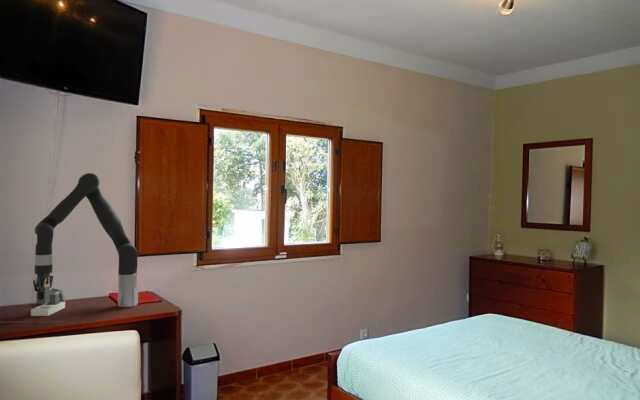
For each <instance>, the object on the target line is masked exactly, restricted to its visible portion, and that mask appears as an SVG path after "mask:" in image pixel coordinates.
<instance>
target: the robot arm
mask: <svg viewBox="0 0 640 400" xmlns="http://www.w3.org/2000/svg"><path fill="white" fill-rule="evenodd" d="M99 185H100V178H99V176H98V175H97V174H95V173H93V172H92V173H91V172H90V173H89V172H87V173H84V174H82V175H81V176H79V179H78V180H77V184H76V186H75V187H74V189H73V190H72V191H71V192H70V193H68V195H67V196H65V198H63V199H62V200H61V201H59V203H58V204H57V205H56V206H55V207H53V209H52V210H51V211H50V212H49V214H48V215H46V216H45V217H43V219H42V220H40V221H39V222H38V223H37V225H36V226H35V227H34V233H35V234H36V243H35V251H34V252H35V253H34V254H35V255H34V274H35V275H36V279H34V280H33V281H32V284H33V289H34V292H36V293H37V292H38V300H42V299H43V290H44V287H45V284H50V289H52V288H53V287H52V286H53V283H54V281H53V280H54V275H51V274H52V273H53V264H54V263H53V260H54V259H53V240H54V229H55V228H56V227H57V226H58V225H59V224H62V222H64V221H65V220H66V219H67V217H69V216H70V214H71V213H72V212H73V211H74V210H75V208H76V207H77V206H78V205H79V204H80V203H81V202H82V200H83V199H85V197H86V198H87V200H88V201H89V203H90V206H91V208H92V210H93V212H94V214H95V216H96V218H97V220H98V222H99V224H100V225H101V228H103V230H104V231H105V233H106V234H107V235H108V237H109V238H110V239H111V241H112V243H113V244H114V247H115V249H116V252H117V255H118V272H117V274H118V276H117V277H118V278H117V280H118V283H117V284H118V286H117V300H118V301H117V304H118V305H117V306H118V307H119V308H132V307H135V306H137V305H138V304H139V287H138V286H137V285H138V278H137V277H138V275H137V273H138V259H139V258H138V249H137V248H136V247H135V246H134V244H133V243H132V242H131V241H130V239H129V238H128V236H127V234H126V232H125V230H124V228H123V224H122V221H121V219H120V217H119V215H118V214H117V211H116V210H115V208H114V207H113V206H112V204H110V202H109V201H108V200H107V199H106V198H105V196H104V195H103V193H102V191H101V189H100V186H99ZM41 287H42V288H41Z"/></svg>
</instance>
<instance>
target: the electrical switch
mask: <svg viewBox="0 0 640 400" xmlns="http://www.w3.org/2000/svg"><path fill="white" fill-rule="evenodd" d="M50 291H60V293H59V302H65V305H66V304H67V302H66V299H65V295H64V293H63V290H62V288H57V287H51V289H50Z"/></svg>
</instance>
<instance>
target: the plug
mask: <svg viewBox="0 0 640 400" xmlns="http://www.w3.org/2000/svg"><path fill="white" fill-rule="evenodd" d="M41 288H42V287H41ZM50 290H51V288H50V284H45V287H44V290H43V299H42V300H38V292H37V291H36V305H43V304H46V303H48V302H49V300H50Z"/></svg>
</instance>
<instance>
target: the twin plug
mask: <svg viewBox="0 0 640 400" xmlns="http://www.w3.org/2000/svg"><path fill="white" fill-rule="evenodd" d="M59 293H60V291H50V300H49V302H48V303H47V305H57V304H59Z"/></svg>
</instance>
